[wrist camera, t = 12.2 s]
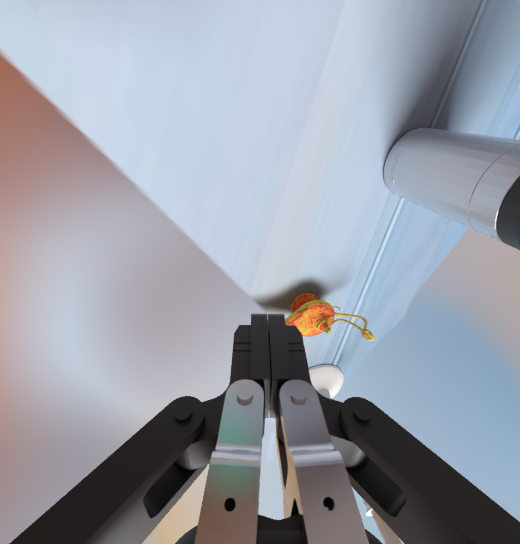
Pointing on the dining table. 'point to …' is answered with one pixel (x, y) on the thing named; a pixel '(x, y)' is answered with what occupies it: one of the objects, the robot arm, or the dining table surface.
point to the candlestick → (328, 384)
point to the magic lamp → (317, 316)
